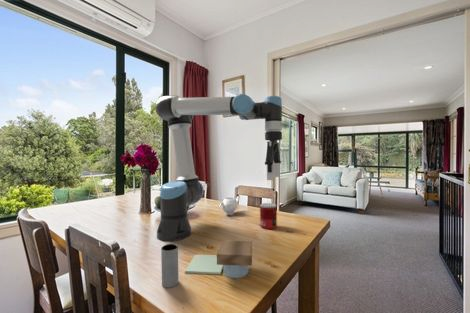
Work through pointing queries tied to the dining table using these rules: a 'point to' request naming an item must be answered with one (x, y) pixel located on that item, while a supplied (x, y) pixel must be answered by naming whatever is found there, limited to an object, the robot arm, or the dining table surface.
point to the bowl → (235, 271)
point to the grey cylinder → (169, 265)
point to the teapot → (230, 205)
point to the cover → (235, 253)
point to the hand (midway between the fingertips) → (273, 178)
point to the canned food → (268, 216)
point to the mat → (204, 265)
